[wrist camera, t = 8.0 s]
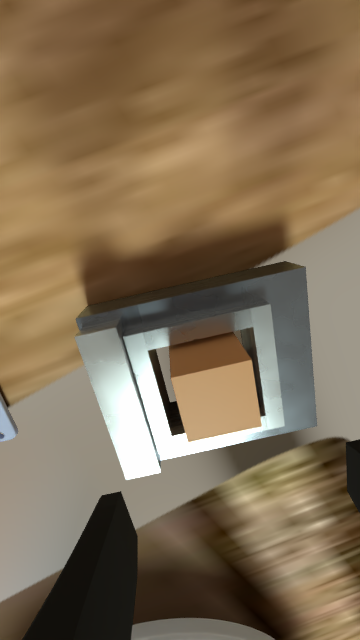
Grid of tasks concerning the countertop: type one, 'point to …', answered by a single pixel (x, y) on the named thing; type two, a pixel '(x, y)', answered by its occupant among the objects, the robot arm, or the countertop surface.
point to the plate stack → (195, 630)
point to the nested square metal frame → (187, 325)
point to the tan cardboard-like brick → (214, 386)
